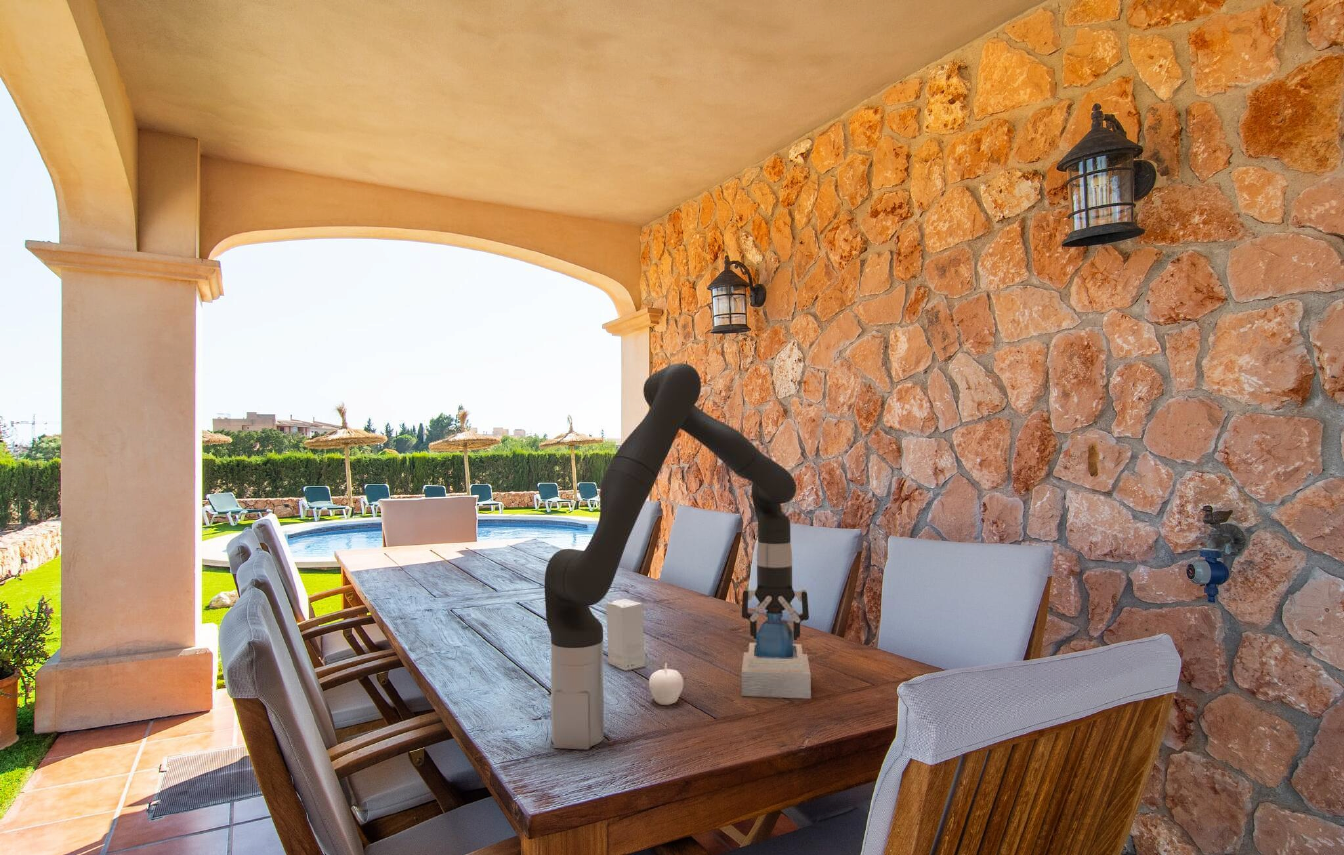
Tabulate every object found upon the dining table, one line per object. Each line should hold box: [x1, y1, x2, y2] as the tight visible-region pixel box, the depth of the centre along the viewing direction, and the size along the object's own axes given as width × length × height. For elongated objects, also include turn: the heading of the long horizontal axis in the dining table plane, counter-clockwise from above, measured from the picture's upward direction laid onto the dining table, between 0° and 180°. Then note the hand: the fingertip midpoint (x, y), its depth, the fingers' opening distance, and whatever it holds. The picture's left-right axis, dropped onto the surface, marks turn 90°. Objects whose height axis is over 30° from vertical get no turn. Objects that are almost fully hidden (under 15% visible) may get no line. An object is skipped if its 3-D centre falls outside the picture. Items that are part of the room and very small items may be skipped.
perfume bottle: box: [755, 607, 794, 657], centre depth 155 cm, size 6×6×12 cm
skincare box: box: [605, 598, 646, 671], centre depth 171 cm, size 8×6×15 cm
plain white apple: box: [648, 662, 684, 706], centre depth 146 cm, size 7×7×8 cm
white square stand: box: [741, 642, 812, 700], centre depth 155 cm, size 14×14×8 cm
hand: (775, 638), depth 155 cm, fingers open, 8 cm apart
